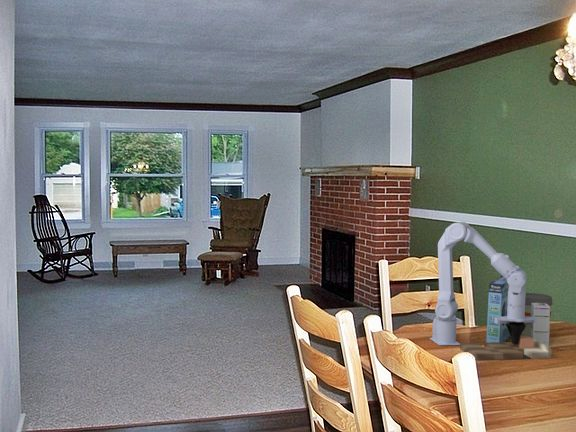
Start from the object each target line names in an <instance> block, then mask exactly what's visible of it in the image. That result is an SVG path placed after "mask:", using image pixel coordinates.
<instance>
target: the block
mask: <svg viewBox="0 0 576 432" xmlns="http://www.w3.org/2000/svg"><path fill="white" fill-rule="evenodd" d="M517 346H519V347H520V348H534V339H533V338H531V337H529V336H525V335H521V336H520V339H519V342H518V345H517Z"/></svg>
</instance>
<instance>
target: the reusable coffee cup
mask: <svg viewBox="0 0 576 432" xmlns="http://www.w3.org/2000/svg"><path fill="white" fill-rule="evenodd" d="M531 303H546V304H548V305H549V306H550V318H551V317H552V316H551V315H552V310H551V308H552V306H553V296H551V295H548V294H544V293H536V292H526V296H525V316H529V317H531ZM524 324H525V325H526V327H525V329H524V330H523V332H522V334H521V336H529V337H530V332H531V323H524Z"/></svg>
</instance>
